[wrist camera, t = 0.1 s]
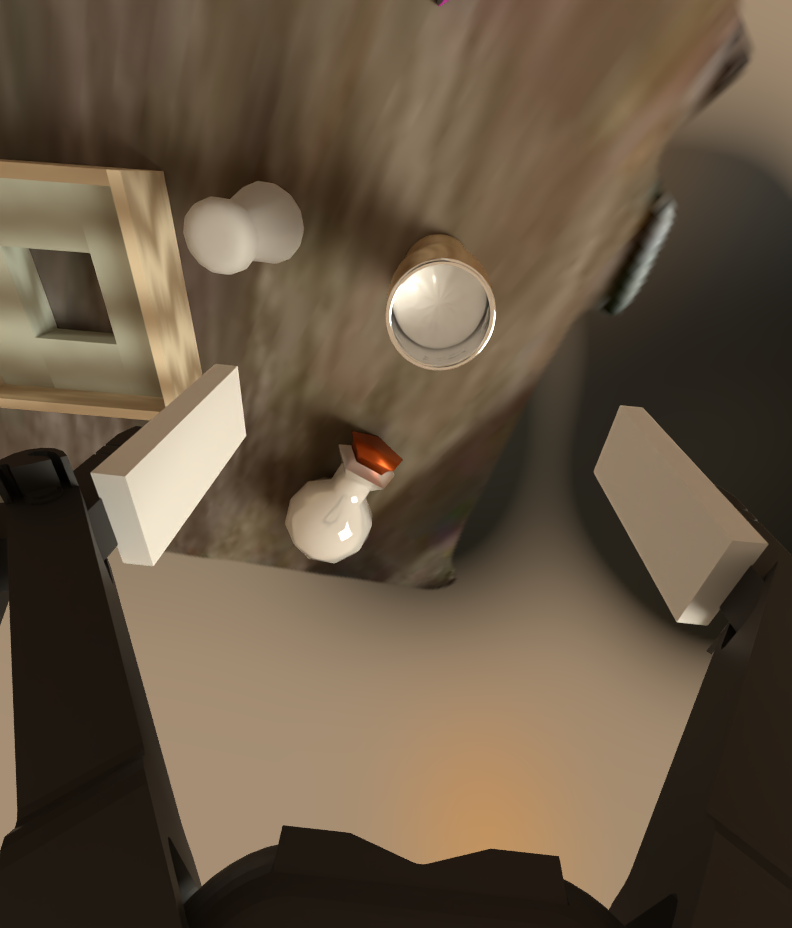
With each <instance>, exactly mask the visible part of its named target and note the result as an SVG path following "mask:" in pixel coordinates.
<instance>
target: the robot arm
mask: <svg viewBox="0 0 792 928" xmlns="http://www.w3.org/2000/svg"><path fill="white" fill-rule="evenodd" d="M245 437H246V431H245V423H244V415H243V407H242V399H241V391H240V383H239V374H238V366H231V365H221V364H215V365H214V366H212V367H211V368H210V369H209V370H208V371H207V372H206V373H204V374H203V375H202V376H201V377H200V378H199V379H197V380H196V381H195V382H194V383H193V384H192V385H191V386H189V387H188V388H187V389H186V390H185V391H184V392H183V393H181V394H180V395H179V396H178V397H177V398H176V399H174V400H173V401H172V402H171V403H170V404H169V405H168V406H166V407H165V408H164V409H163V410H162V411H161V412H160V413H158V414H157V415H156V416H155V417H154V418H153V419H151V420H150V421H149V422H148V423H147V424H146V425H145V426H143V427H139V426H135V427H133V428H131V429H128V430H126V431H124V432H122V433H120V434H118V435H116V436H115V437H114V438H113V439H112V440H110V441H109V442H108V443H107V444H106V446H103V447H102V448H101V449H99V450H98V451H97V452H96V455H95V454H93V455H92V456H91V457H90V458H89V459H87V460H86V461H85V462H84V463H82V464H81V465H80V466H79V467H78V468H76V469H75V470H74V471H73V470H72V467H71V465H70V462H69V460H68V457H67V455H66V454H65V453H64V452H63V451H61V450H58V449H55V448H37V449H29V450H25V451H21V452H18V453H14V454H12V455H10V456H7V457H5V458H3V459H1V460H0V495H1V497H2V499H3V501H4V503H0V624H1V621H2V618H3V616H4V613H5V610H6V607H7V604H8V602H9V606H10V630H11V631H10V632H11V655H12V656H11V657H12V683H13V708H14V733H15V759H16V785H17V822H16V826H15V829H13V830H12V831H11V832H10V833H9V834H7V835H6V836H5V837H4V840H3V844H2V847H1V850H0V928H792V554H790V553H789V552H788V551H787V550H786V549H785V548H784V547H783V546H782V545H781V544H780V543H779V542H778V541H777V540H776V539H775V538H774V537H773V536H772V535H771V534H770V533H769V532H768V531H767V529H765V527H764V526H763V525H762V524H761V523H758V522H757V521H758V520H757V519H756V518H755V517H754V516H753V515H752V514H751V513H750V512H747V511H748V510H747V509H746V507H745V506H744V505H743V504H742V503H741V502H740V501H739V500H738V499H737V498H736V497H734V496H733V495H732V494H730V493H729V492H727V491H726V490H724V489H722V488H721V487H720V486H718V485H714V484H713V483H712V482H711V481H710V480H709V479H708V478H707V477H706V476H705V475H704V474H703V472H702V471H701V470H700V469H699V468H698V467H697V466H696V465H695V464H694V463H693V462H692V461H691V459H690V458H689V457H688V456H687V455H686V454H685V453H684V452H683V451H682V450H681V449H680V448H679V446H678V445H677V444H676V443H675V442H674V441H673V440H672V439H671V438H670V437H669V436H668V435H667V433H665V431H664V430H663V429H662V428H661V427H660V426H659V425H658V424H657V423H656V422H655V420H654V419H653V418H652V417H651V416H650V415H649V414H648V413H647V412H646V411H645V410H644V409H643V408H641V407H631V406H621V405H620V407H619V410H618V412H617V415H616V417H615V420H614V422H613V425H612V427H611V430H610V432H609V435H608V437H607V440H606V442H605V445H604V447H603V450H602V452H601V455H600V457H599V460H598V462H597V465H596V467H595V470H594V474H595V476H596V477H597V479H598V481H599V483H600V484H601V486H602V488H603V490H604V492H605V493H606V495H607V497H608V499H609V501H610V503H611V504H612V506H613V508H614V510H615V512H616V513H617V515H618V517H619V519H620V521H621V522H622V524H623V526H624V528H625V530H626V531H627V533H628V535H629V537H630V539H631V540H632V542H633V544H634V546H635V548H636V549H637V551H638V553H639V555H640V557H641V558H642V560H643V562H644V564H645V566H646V567H647V569H648V571H649V573H650V575H651V576H652V578H653V580H654V582H655V584H656V585H657V587H658V589H659V591H660V593H661V594H662V596H663V598H664V600H665V602H666V603H667V605H668V607H669V609H670V611H671V613H672V614H673V616H674V618H675V620H676V621H677V622H682V623H690V624H699V625H708V624H709V623H710V622H711V620H712V619H713V618H714V616H715V615H716V614H717V612H718V611H719V610H720V609H721V610H722V612H723V613H724V615H725V616H726V618H727V619H728V621H729V623H728V624H727V626H726V627H725V628H724V630H723V631H722V632H721V633H720V635H719V636H718V637H717V638H716V640H715V641H714V642H713V644H712V645H711V646H710V647H709V649H708V650H707V652H709V653H711V654H712V653H713V652H714V653H713V656H712V659H711V661H710V664H709V666H708V669H707V672H706V674H705V677H704V679H703V682H702V685H701V687H700V690H699V693H698V695H697V698H696V701H695V703H694V706H693V709H692V711H691V714H690V717H689V719H688V722H687V724H686V727H685V730H684V732H683V735H682V738H681V740H680V743H679V746H678V748H677V751H676V753H675V757H674V759H673V762H672V764H671V767H670V769H669V772H668V775H667V777H666V780H665V782H664V785H663V788H662V790H661V793H660V796H659V798H658V801H657V803H656V806H655V809H654V811H653V814H652V817H651V819H650V822H649V825H648V827H647V830H646V833H645V835H644V838H643V841H642V843H641V846H640V848H639V851H638V854H637V856H636V859H635V862H634V864H633V867H632V869H631V872H630V874H629V876H628V879H627V880H626V882H625V884H624V886H623V887H622V889H621V890H620V892H619V894H618V895H617V897H616V898H615V900H614V901H613V903H612V905H611V907H610V909H609V910H608V909H607V908H606V907H604V906H603V905H602V904H601V903H599V902H598V901H597V900H596V899H594V898H593V897H592V896H591V895H589V894H588V893H586V892H585V891H583V890H582V889H580V888H578V887H577V886H575V885H573V884H572V883H570V882H568V881H566V880H564V879H563V876H562V870H561V864H560V860H559V856H551V855H542V854H533V853H525V852H515V851H506V850H497V849H488V850H484V851H480V852H475V853H471V854H467V855H463V856H459V857H454V858H450V859H446V860H442V861H438V862H434V863H429V864H416V863H413V862H411V861H409V860H407V859H404V858H402V857H400V856H398V855H396V854H394V853H392V852H390V851H388V850H385V849H383V848H381V847H379V846H377V845H375V844H373V843H370V842H368V841H366V840H364V839H362V838H360V837H358V836H355V835H353V834H351V833H346V832H337V831H328V830H319V829H310V828H301V827H293V826H282V831H281V835H280V840H279V844H278V845H274V846H270V847H266V848H263V849H261V850H259V851H256V852H253V853H250V854H248V855H246V856H244V857H243V858H241V859H239V860H237V861H235V862H234V863H232V864H230V865H229V866H227V867H226V868H224V869H223V870H221V871H220V872H219V873H217V874H216V875H214V876H213V877H212V878H211V879H210V880H208V881H207V882H206V883H205V884H204V885H203V886H201V882H200V879H199V876H198V872H197V869H196V866H195V863H194V859H193V856H192V853H191V850H190V848H189V845H188V842H187V839H186V836H185V833H184V830H183V827H182V824H181V820H180V816H179V813H178V809H177V806H176V802H175V798H174V795H173V791H172V788H171V784H170V780H169V777H168V773H167V769H166V766H165V762H164V759H163V755H162V752H161V748H160V744H159V740H158V737H157V733H156V730H155V726H154V723H153V719H152V715H151V711H150V708H149V704H148V701H147V697H146V693H145V690H144V686H143V682H142V679H141V676H140V672H139V668H138V664H137V661H136V657H135V654H134V650H133V647H132V643H131V639H130V635H129V632H128V628H127V625H126V621H125V617H124V614H123V610H122V607H121V603H120V599H119V596H118V592H117V589H116V585H115V581H114V578H113V574H112V570H111V567H110V564H109V562H108V559H107V557H108V555H109V554H110V553H111V552H112V551H113V550H114V549H115V548H116V546H117V547H118V550H119V553H120V555H121V558H122V561H123V563H129V564H138V565H148V566H154V565H155V563H156V562H157V560H158V559H159V558H160V556H161V555H162V553H163V552H164V551H165V549H166V548H167V546H168V545H169V544H170V542H171V541H172V539H173V538H174V537H175V535H176V534H177V532H178V531H179V530H180V528H181V527H182V525H183V524H184V522H185V521H186V520H187V518H188V517H189V515H190V514H191V513H192V511H193V510H194V508H195V507H196V506H197V504H198V503H199V501H200V500H201V499H202V497H203V496H204V494H205V493H206V492H207V490H208V489H209V487H210V486H211V484H212V483H213V482H214V480H215V479H216V477H217V476H218V475H219V473H220V472H221V470H222V469H223V468H224V466H225V465H226V463H227V462H228V461H229V459H230V458H231V456H232V455H233V454H234V452H235V451H236V449H237V448H238V447H239V445H240V444H241V442H242V441H243V439H244V438H245Z"/></svg>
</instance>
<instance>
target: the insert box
mask: <svg viewBox="0 0 792 928" xmlns="http://www.w3.org/2000/svg"><path fill="white" fill-rule="evenodd" d="M29 248H34V249H47V250H59V251H72V252H84V253H90V254H91V258H92V261H93V264H94V268H95V271H96V275H97V278H98V282H99V285H100V288H101V292H102V295H103V299H104V302H105V305H106V309H107V312H108V316H109V319H110V322H111V326H112V329H113V333H106V332H94V331H82V330H70V329H58V328H57V325H56V322H55V319H54V317H53V314H52V311H51V308H50V305H49V303H48V300H47V297H46V294H45V292H44V289H43V286H42V283H41V281H40V278H39V275H38V272H37V269H36V267H35V264H34V261H33V258H32V256H31V253H30V250H29ZM201 376H202V370H201V365H200V360H199V355H198V349H197V344H196V339H195V334H194V328H193V323H192V318H191V313H190V308H189V302H188V297H187V292H186V287H185V281H184V276H183V271H182V266H181V260H180V255H179V250H178V245H177V240H176V234H175V229H174V224H173V219H172V213H171V208H170V203H169V198H168V193H167V187H166V182H165V177H164V172H163V171H154V170H141V169H127V168H114V167H101V166H87V165H74V164H61V163H47V162H34V161H21V160H7V159H0V407H2V408H13V409H25V410H37V411H48V412H60V413H71V414H83V415H94V416H106V417H117V418H129V419H141V420H151V419H153V418H154V417H155V416H156V415H157V414H158V413H160V412H161V411H162V410H163V409H164V408H165V407H166V406H168V405H169V404H170V403H171V402H172V401H173V400H174V399H176V398H177V397H178V396H179V395H180V394H181V393H183V392H184V391H185V390H186V389H187V388H188V387H189V386H191V385H192V384H193V383H194V382H195V381H196V380H197V379H199V378H200V377H201Z"/></svg>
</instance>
